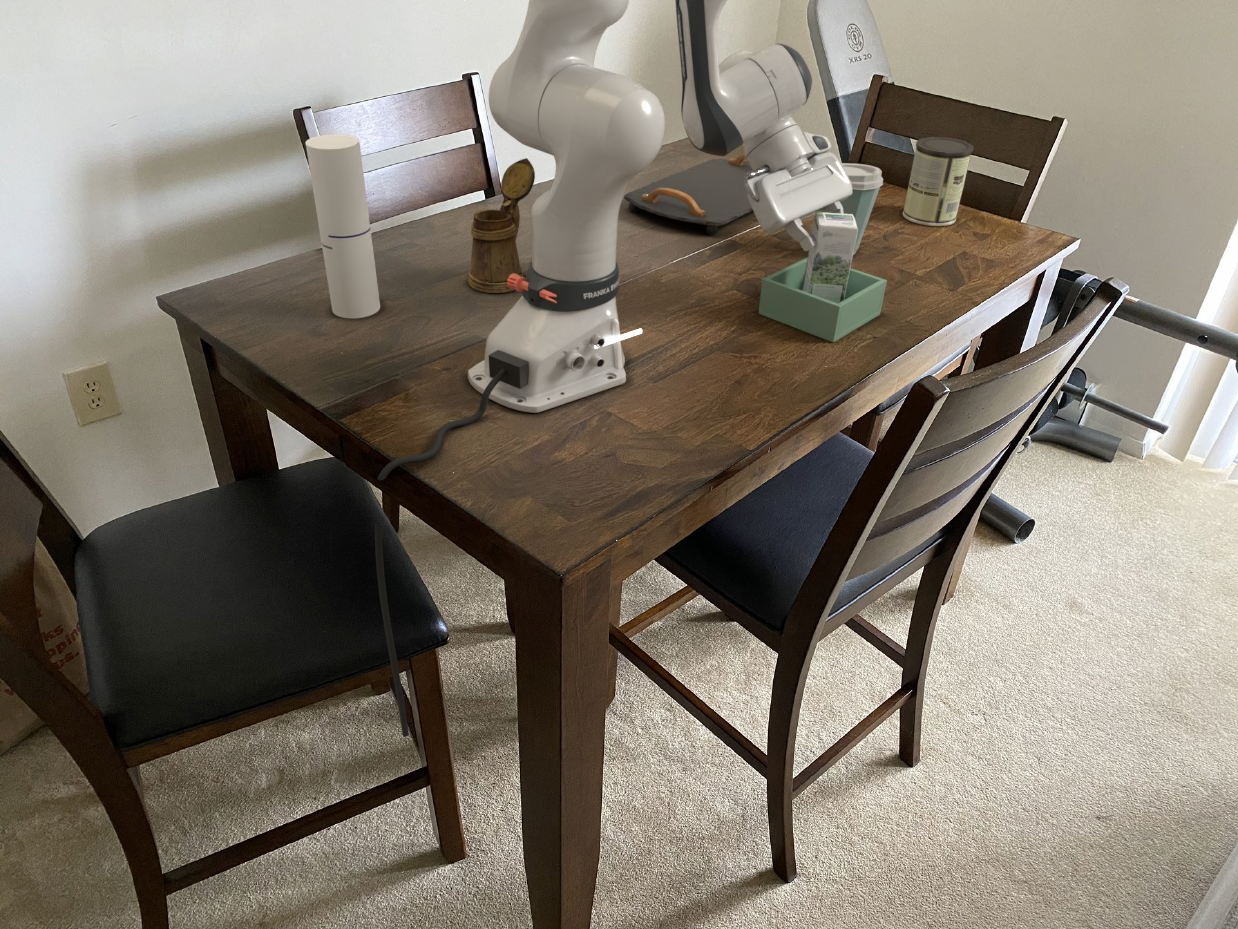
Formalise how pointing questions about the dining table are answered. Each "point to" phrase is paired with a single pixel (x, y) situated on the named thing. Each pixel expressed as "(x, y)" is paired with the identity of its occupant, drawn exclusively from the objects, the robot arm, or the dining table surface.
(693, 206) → the serving tray
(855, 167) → the disposable coffee cup
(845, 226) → the syrup box
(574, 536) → the dining table surface
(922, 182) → the coffee can
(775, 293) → the open storage box
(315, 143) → the cylindrical container
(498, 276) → the wooden mug
